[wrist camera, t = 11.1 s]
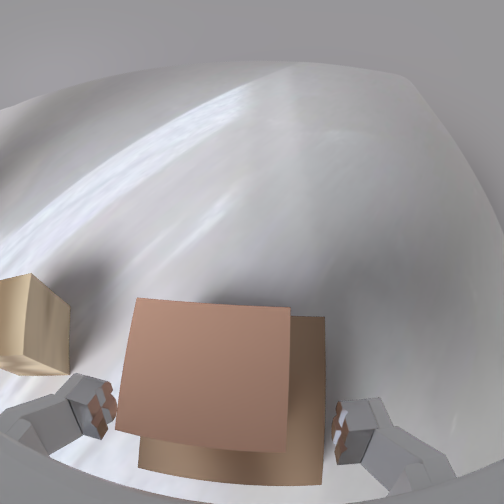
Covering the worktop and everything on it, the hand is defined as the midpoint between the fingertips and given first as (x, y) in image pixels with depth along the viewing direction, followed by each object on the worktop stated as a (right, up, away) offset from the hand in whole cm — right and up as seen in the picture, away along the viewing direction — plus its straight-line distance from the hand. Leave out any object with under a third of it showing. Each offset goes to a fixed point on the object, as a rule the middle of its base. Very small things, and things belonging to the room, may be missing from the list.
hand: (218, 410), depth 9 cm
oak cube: (-17, -2, +11) cm, 20 cm away
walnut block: (0, -5, +9) cm, 10 cm away
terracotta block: (0, -3, +6) cm, 6 cm away
